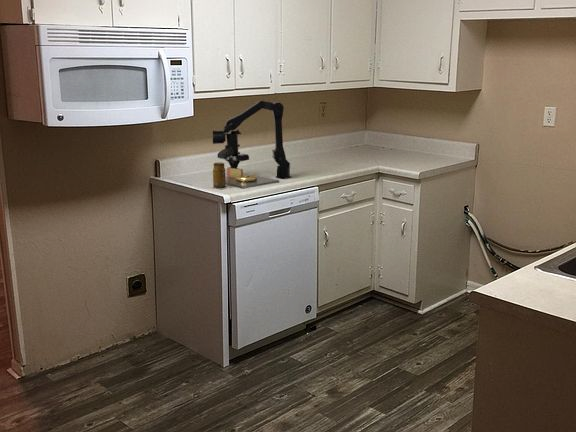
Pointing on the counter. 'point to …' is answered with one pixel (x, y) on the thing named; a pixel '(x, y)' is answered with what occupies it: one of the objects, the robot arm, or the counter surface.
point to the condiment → (219, 176)
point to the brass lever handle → (240, 174)
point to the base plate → (250, 182)
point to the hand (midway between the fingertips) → (233, 172)
